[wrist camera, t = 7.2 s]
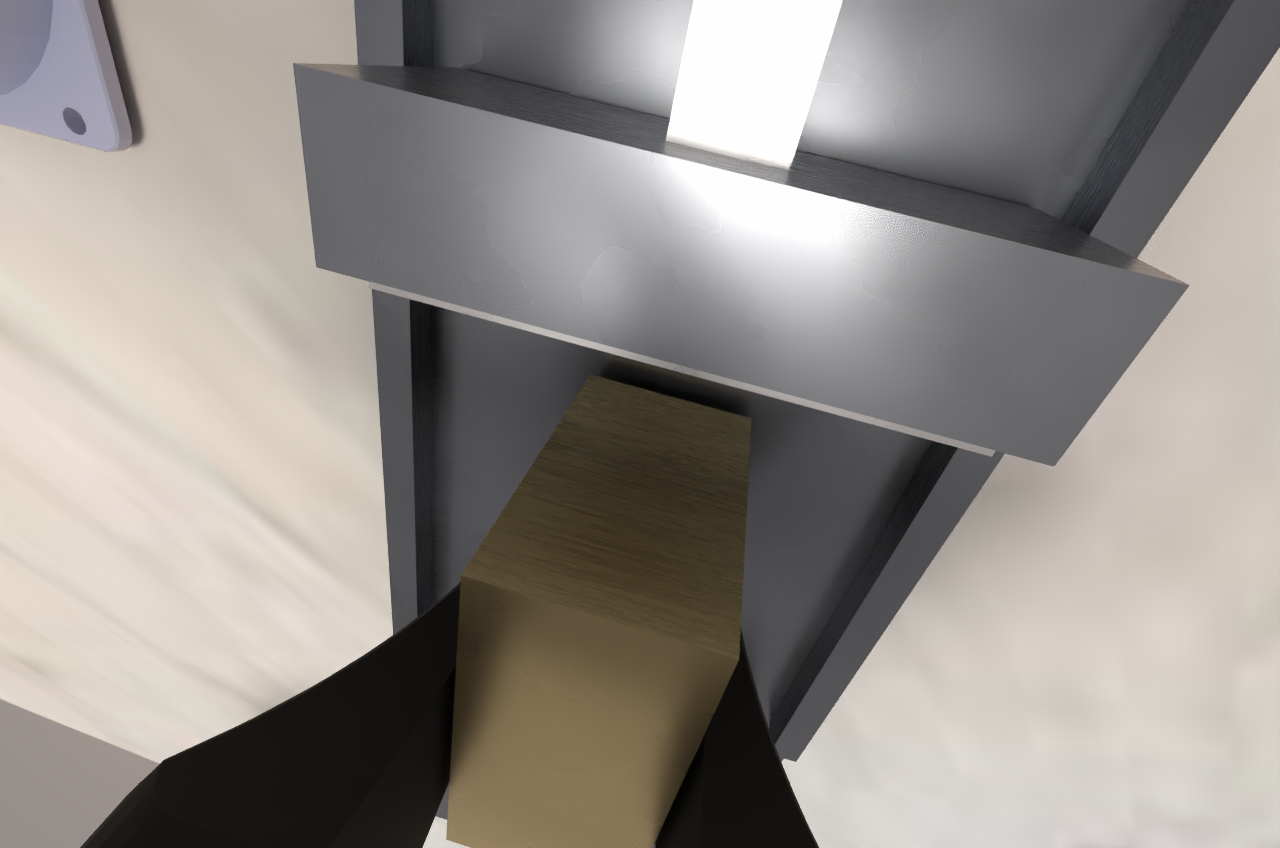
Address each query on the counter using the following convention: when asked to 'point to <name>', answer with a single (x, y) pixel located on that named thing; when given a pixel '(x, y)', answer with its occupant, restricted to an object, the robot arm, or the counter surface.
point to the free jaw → (726, 239)
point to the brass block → (600, 625)
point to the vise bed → (780, 430)
